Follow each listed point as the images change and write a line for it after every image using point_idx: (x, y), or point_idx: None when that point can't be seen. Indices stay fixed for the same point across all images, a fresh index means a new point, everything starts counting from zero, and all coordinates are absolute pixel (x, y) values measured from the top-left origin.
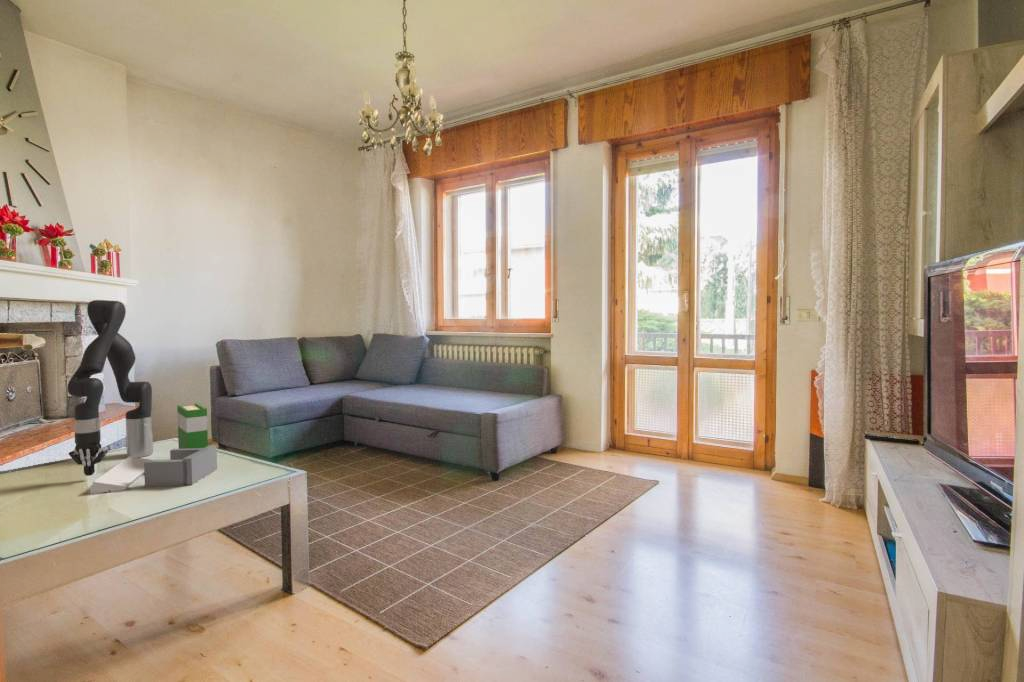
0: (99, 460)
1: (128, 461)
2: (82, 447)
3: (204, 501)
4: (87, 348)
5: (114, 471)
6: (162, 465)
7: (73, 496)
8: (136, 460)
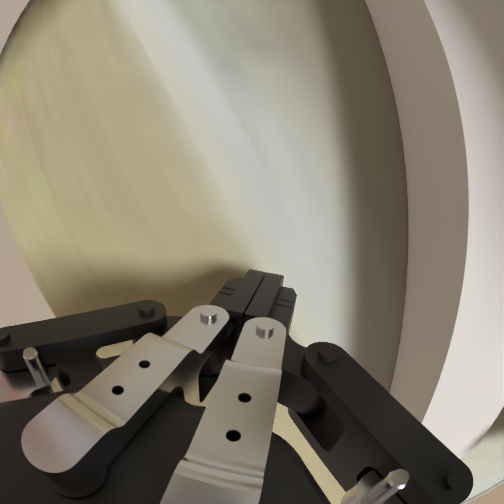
0: (346, 379)
1: (474, 56)
2: None
3: None
4: None
5: (460, 383)
6: None
7: (321, 462)
8: (480, 15)
